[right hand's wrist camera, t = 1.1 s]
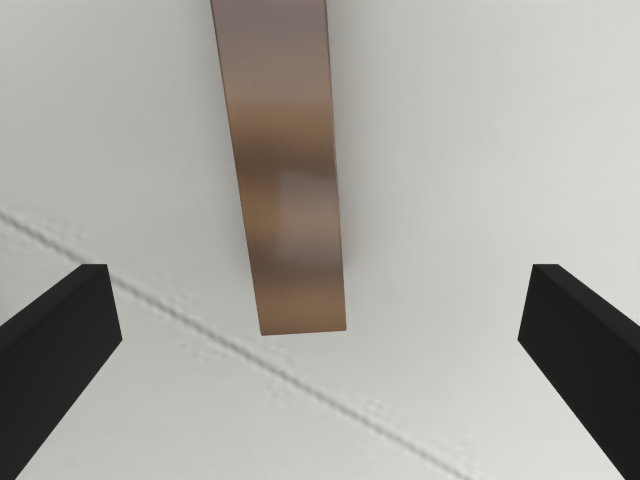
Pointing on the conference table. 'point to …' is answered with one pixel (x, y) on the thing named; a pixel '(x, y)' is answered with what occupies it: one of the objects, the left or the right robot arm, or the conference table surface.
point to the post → (285, 158)
